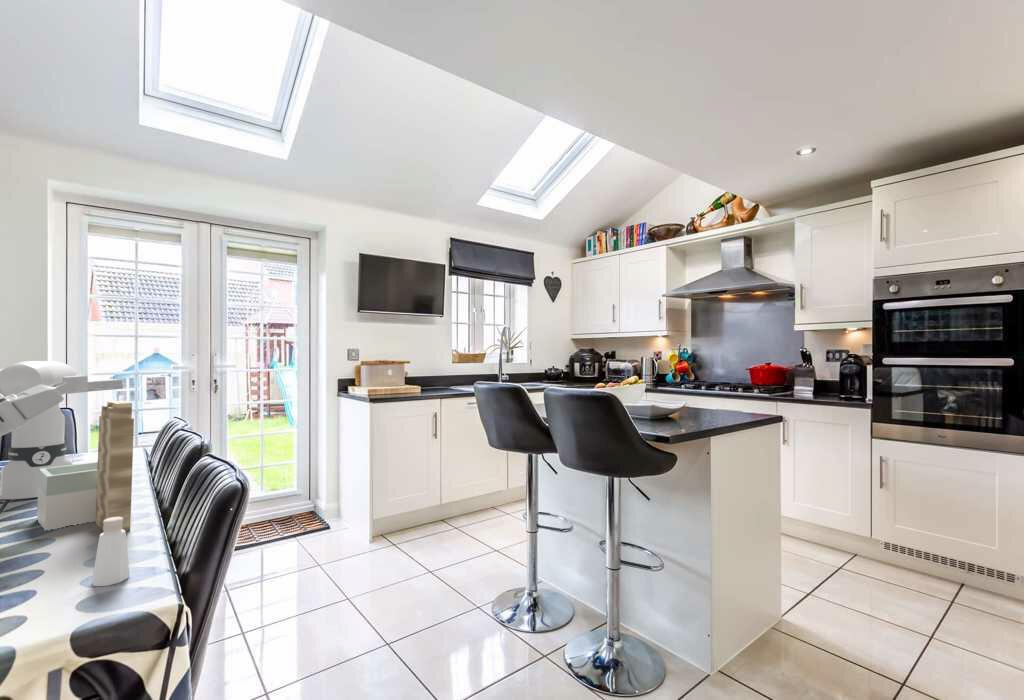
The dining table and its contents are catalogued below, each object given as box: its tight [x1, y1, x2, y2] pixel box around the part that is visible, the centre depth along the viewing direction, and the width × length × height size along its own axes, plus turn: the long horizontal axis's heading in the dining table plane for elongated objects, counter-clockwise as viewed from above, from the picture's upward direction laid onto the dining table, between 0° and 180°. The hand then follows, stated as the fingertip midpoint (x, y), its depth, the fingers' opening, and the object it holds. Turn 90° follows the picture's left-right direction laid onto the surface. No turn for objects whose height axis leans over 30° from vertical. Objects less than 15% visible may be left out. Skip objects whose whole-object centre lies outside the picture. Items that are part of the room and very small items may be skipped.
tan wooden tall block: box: [95, 400, 135, 532], centre depth 112 cm, size 12×4×30 cm, turn 52°
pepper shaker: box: [91, 517, 130, 587], centre depth 85 cm, size 5×5×11 cm
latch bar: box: [62, 375, 124, 395], centre depth 120 cm, size 4×11×4 cm, turn 142°
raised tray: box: [36, 461, 98, 532], centre depth 118 cm, size 12×16×12 cm
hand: (75, 381), depth 117 cm, fingers closed on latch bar, 4 cm apart
